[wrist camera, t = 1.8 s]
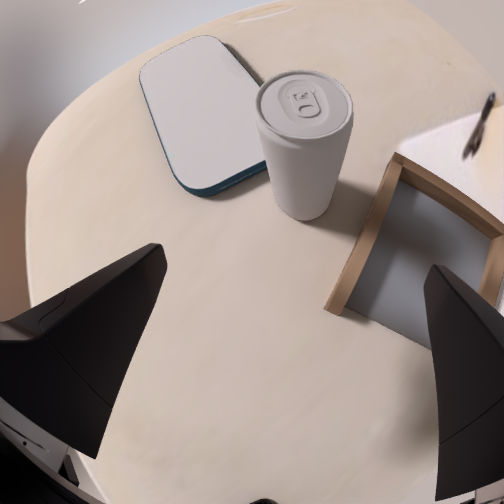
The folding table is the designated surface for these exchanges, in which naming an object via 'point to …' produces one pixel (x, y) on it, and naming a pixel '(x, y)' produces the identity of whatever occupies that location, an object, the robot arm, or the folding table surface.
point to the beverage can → (303, 138)
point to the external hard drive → (204, 115)
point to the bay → (417, 249)
